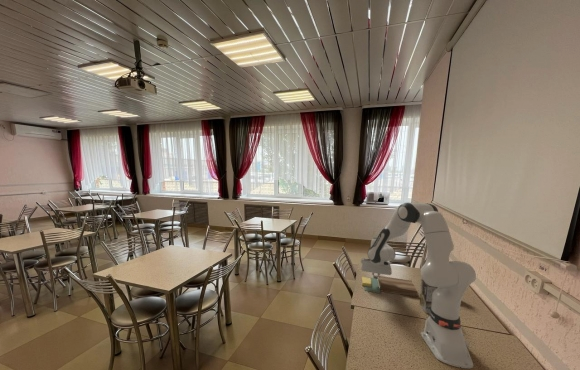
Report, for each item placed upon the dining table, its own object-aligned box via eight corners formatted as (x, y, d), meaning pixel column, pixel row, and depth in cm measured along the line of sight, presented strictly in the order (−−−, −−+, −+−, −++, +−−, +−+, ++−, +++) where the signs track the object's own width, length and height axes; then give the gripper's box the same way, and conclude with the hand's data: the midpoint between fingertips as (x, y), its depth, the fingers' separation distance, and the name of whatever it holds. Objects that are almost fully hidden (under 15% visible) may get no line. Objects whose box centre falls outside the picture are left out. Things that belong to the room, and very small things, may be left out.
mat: (380, 293, 146) (380, 292, 146) (364, 290, 149) (364, 290, 149) (377, 278, 165) (377, 278, 165) (363, 276, 168) (363, 276, 168)
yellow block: (362, 282, 154) (362, 285, 155) (371, 284, 153) (371, 286, 153) (361, 276, 163) (361, 279, 163) (370, 278, 161) (370, 280, 162)
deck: (416, 296, 143) (417, 291, 142) (380, 290, 149) (380, 285, 148) (411, 286, 156) (411, 280, 156) (378, 280, 162) (378, 275, 162)
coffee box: (437, 314, 125) (439, 287, 124) (425, 313, 126) (427, 286, 125) (430, 305, 134) (432, 280, 133) (419, 303, 135) (420, 278, 134)
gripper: (361, 259, 155) (360, 278, 156) (392, 263, 149) (391, 283, 150) (361, 256, 161) (360, 274, 162) (391, 260, 155) (390, 278, 156)
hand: (375, 278), depth 156 cm, fingers closed
